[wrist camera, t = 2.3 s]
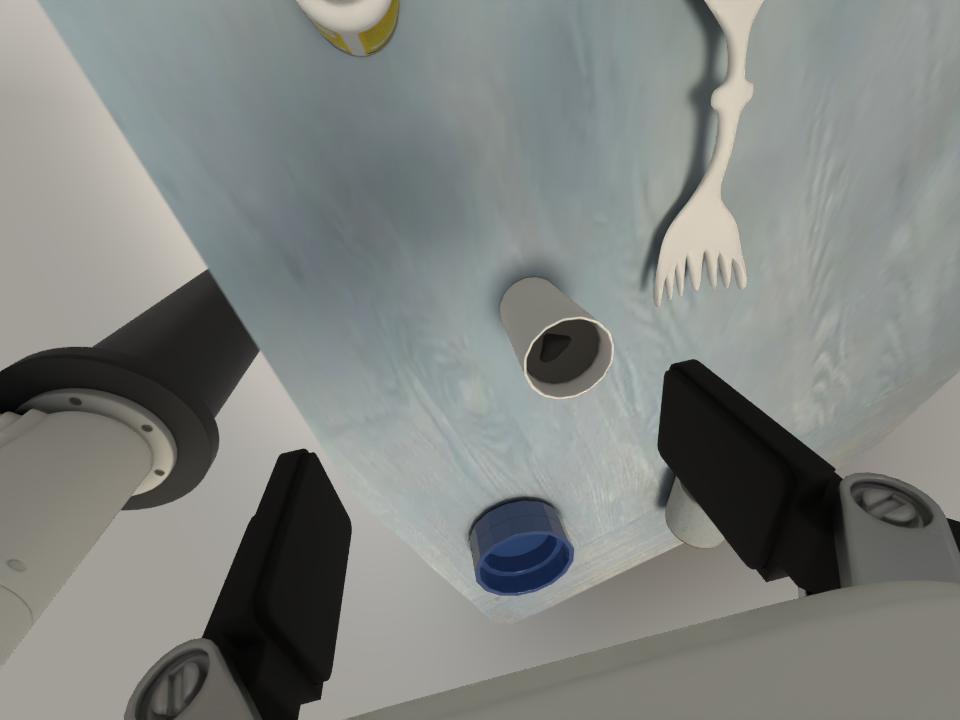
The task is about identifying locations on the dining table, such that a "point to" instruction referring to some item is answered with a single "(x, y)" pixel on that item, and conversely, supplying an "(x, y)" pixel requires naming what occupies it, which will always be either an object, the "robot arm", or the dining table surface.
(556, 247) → the dining table surface
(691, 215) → the cream back scratcher
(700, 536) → the ceramic mug
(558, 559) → the bowl
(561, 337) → the white cylindrical cup
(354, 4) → the supplement bottle
